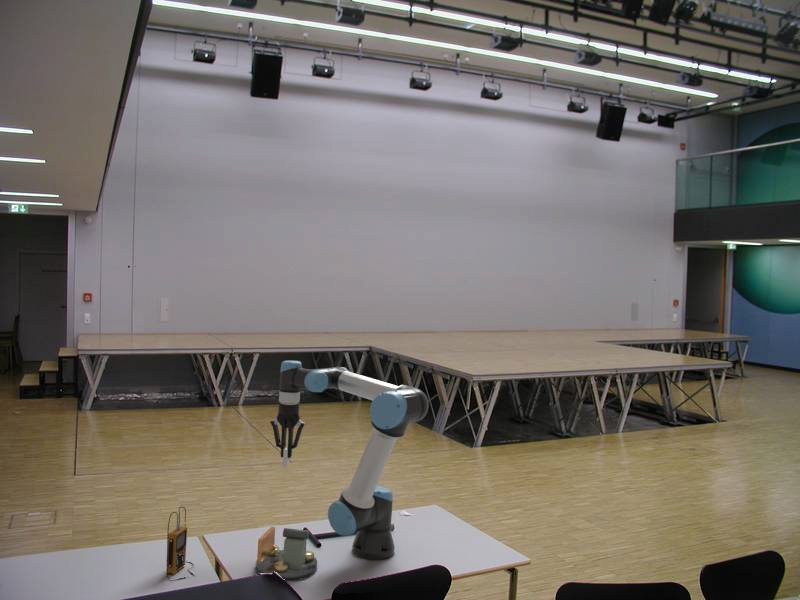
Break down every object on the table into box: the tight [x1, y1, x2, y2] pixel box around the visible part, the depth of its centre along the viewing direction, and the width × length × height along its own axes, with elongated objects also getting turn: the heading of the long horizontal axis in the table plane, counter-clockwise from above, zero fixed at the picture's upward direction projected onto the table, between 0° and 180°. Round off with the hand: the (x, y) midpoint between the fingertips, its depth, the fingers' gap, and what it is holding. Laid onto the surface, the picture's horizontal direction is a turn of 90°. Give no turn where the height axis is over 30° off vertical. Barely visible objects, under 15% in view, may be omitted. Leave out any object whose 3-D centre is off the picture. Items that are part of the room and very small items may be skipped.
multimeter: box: [166, 506, 188, 579], centre depth 225 cm, size 15×10×20 cm
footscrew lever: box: [256, 526, 280, 562], centre depth 232 cm, size 15×4×10 cm, turn 170°
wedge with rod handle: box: [282, 527, 310, 570], centre depth 230 cm, size 8×6×12 cm
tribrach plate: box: [255, 549, 318, 582], centre depth 233 cm, size 20×20×4 cm
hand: (285, 466), depth 259 cm, fingers closed
